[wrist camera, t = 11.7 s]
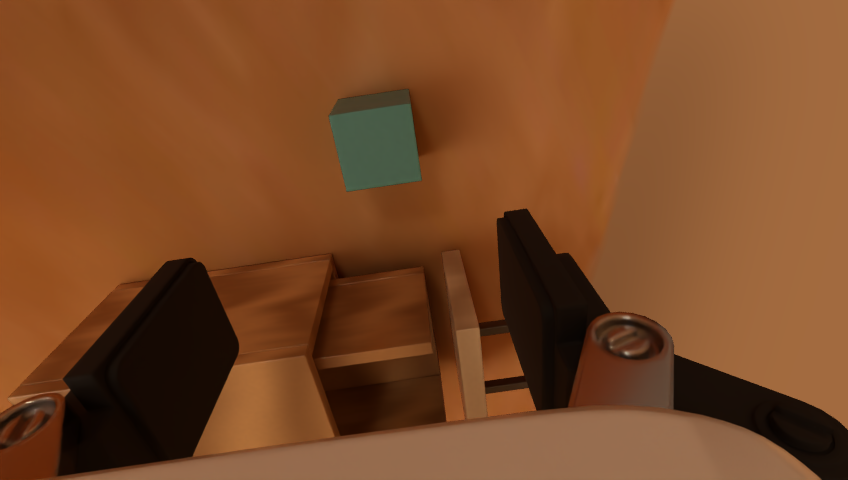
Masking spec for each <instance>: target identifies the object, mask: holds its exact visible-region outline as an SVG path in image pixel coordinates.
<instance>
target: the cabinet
mask: <svg viewBox="0 0 848 480" xmlns="http://www.w3.org/2000/svg"><path fill="white" fill-rule="evenodd" d="M207 273H208V275H209V277H210V279H211V281H212V284H213V286H214V288H215V290H216V292H217V294H218V297H219V299H220V301H221V303H222V305H223V308H224V310H225V312H226V314H227V316H228V319H229V321H230V323H231V325H232V327H233V330H234V332H235V334H236V336H237V338H238V341H239V353H238V356H237V358H236V360H235V363H234V365H233V367H232V369H231V371H230V374H229V376H228V378H227V380H226V383H225V385H224V387H223V389H222V392H221V394H220V396H219V398H218V400H217V403H216V405H215V407H214V409H213V412H212V414H211V416H210V418H209V421H208V423H207V425H206V427H205V429H204V432H203V434H202V436H201V438H200V441H199V443H198V445H197V447H196V450H195V452H194V454H193V456H192V457H195V456H202V455H210V454H217V453H224V452H231V451H238V450H245V449H252V448H259V447H266V446H274V445H281V444H288V443H295V442H302V441H310V440H317V439H324V438H331V437H339V436H340V434H339V431H338V428H337V425H336V422H335V419H334V417H333V414H332V411H331V408H330V405H329V403H328V400H327V397H326V394H325V391H324V388H323V386H322V383H321V380H320V377H319V374H318V372H317V369H316V366H315V363H314V360H313V357H312V354H313V350H314V346H315V341H316V337H317V333H318V329H319V325H320V320H321V316H322V312H323V308H324V303H325V299H326V295H327V291H328V287H329V282H330V280H333V279H338V275H337V272H336V268H335V265H334V261H333V258H332V254H326V255H319V256H312V257H305V258H298V259H291V260H284V261H278V262H271V263H264V264H257V265H250V266H243V267H237V268H230V269H223V270H216V271H209V272H207ZM149 281H150V280H147V281H141V282H134V283H127V284H120V285H118V286H117V287H116V288H115V289H114V290H113V291H112V292H111V293H110V294H109V295H108V296H107V297H106V298H105V299H104V300H103V301H102V302H101V303H100V304H99V305H98V306H97V307H96V308H95V309H94V310H93V311H92V312H91V313H90V314H89V315H88V316H87V317H86V318H85V319H84V320H83V321H82V322H81V324H80V325H79V326H78V327H77V328H76V329H75V330H74V331H73V332H72V333H71V334H70V335H69V336H68V337H67V338H66V339H65V340H64V341H63V342H62V343H61V344H60V345H59V346H58V347H57V348H56V349H55V350H54V351H53V352H52V353H51V354H50V355H49V356H48V357H47V358H46V359H45V360H44V361H43V362H42V363H41V364H40V365H39V366H38V367H37V368H36V369H35V370H34V371H33V372H32V373H31V374H30V375H29V376H28V377H27V378H26V379H25V380H24V381H23V382H22V383H21V384H20V386H19V387H18V388H17V389H16V390H15V391H14V392H13V393H12V394H11V395H10V396H9V397H8V400H9V401H10V402H11V403H12V404H13V405H15V404H17V403H19V402H21V401H23V400H25V399H28V398H31V397H33V396H36V395H39V394H45V393H50V392H51V393H59V394H61V395H62V396H64V397H65V396H66V395H67V394H68V392H69V391H70V388H69V387H68V386H67V385H66V383H65V382H64V381H63V378H64V376H65V375H66V374H67V373H68V372H69V371H70V370H71V368H72V367H73V366H74V365H75V364H76V363H77V362H78V361H79V359H80V358H81V357H82V356H83V355H84V354H85V353H86V352H87V350H88V349H89V348H90V347H91V346H92V345H93V344H94V343H95V341H96V340H97V339H98V338H99V337H100V336H101V335H102V334H103V332H104V331H105V330H106V329H107V328H108V327H109V326H110V325H111V323H112V322H113V321H114V320H115V319H116V318H117V317H118V316H119V314H120V313H121V312H122V311H123V310H124V309H125V308H126V307H127V305H128V304H129V303H130V302H131V301H132V300H133V299H134V298H135V296H136V295H137V294H138V293H139V292H140V291H141V290H142V289H143V287H144V286H145V285H146V284H147V283H148V282H149Z"/></svg>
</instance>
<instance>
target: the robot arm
mask: <svg viewBox="0 0 848 480" xmlns="http://www.w3.org/2000/svg"><path fill="white" fill-rule="evenodd" d="M497 236H498V253H499V271H500V288H501V304H502V310H503V315H504V318H505V321H506V324H507V326H508V329H509V332H510V335H511V338H512V341H513V344H514V347H515V350H516V352H517V355H518V358H519V361H520V364H521V367H522V370H523V373H524V375H525V378H526V381H527V384H528V387H529V390H530V393H531V396H532V399H533V401H534V404H535V407H536V410H537V411H529V412H520V413H513V414H506V415H498V416H490V417H482V418H473V419H465V420H458V421H450V422H443V423H435V424H428V425H421V426H413V427H406V428H398V429H391V430H383V431H376V432H368V433H361V434H353V435H346V436H339V437H331V438H324V439H317V440H310V441H302V442H295V443H288V444H281V445H274V446H266V447H259V448H252V449H245V450H238V451H231V452H224V453H217V454H210V455H202V456H195V457H192V456H193V454H194V452H195V450H196V447H197V445H198V443H199V441H200V438H201V436H202V434H203V432H204V429H205V427H206V425H207V423H208V421H209V418H210V416H211V414H212V412H213V409H214V407H215V405H216V403H217V400H218V398H219V396H220V394H221V392H222V389H223V387H224V385H225V383H226V380H227V378H228V376H229V374H230V371H231V369H232V367H233V365H234V363H235V360H236V358H237V356H238V353H239V341H238V338H237V336H236V334H235V332H234V330H233V327H232V325H231V323H230V321H229V319H228V316H227V314H226V312H225V310H224V308H223V305H222V303H221V301H220V299H219V297H218V294H217V292H216V290H215V288H214V286H213V284H212V281H211V279H210V277H209V275H208V273H207V270H206V268H205V266H204V265H203V264H202V263H201V262H197V261H196V260H195V259H193V258H186V259H179V260H172V261H167V262H166V263H165V264H164V265H163V266H162V267H161V268H160V269H159V270H158V272H157V273H156V274H155V275H154V276H153V277H152V278H151V279H150V281H149V282H148V283H147V284H146V285H145V286H144V287H143V289H142V290H141V291H140V292H139V293H138V294H137V295H136V296H135V298H134V299H133V300H132V301H131V302H130V303H129V304H128V305H127V307H126V308H125V309H124V310H123V311H122V312H121V313H120V314H119V316H118V317H117V318H116V319H115V320H114V321H113V322H112V323H111V325H110V326H109V327H108V328H107V329H106V330H105V331H104V332H103V334H102V335H101V336H100V337H99V338H98V339H97V340H96V341H95V343H94V344H93V345H92V346H91V347H90V348H89V349H88V350H87V352H86V353H85V354H84V355H83V356H82V357H81V358H80V359H79V361H78V362H77V363H76V364H75V365H74V366H73V367H72V368H71V370H70V371H69V372H68V373H67V374H66V375H65V376H64V378H63V381H64V382H65V383H66V385H67V386H68V387H69V388H70V391H69V392H68V394H67V395H66V396H65V397H64V396H62V395H61V394H59V393H51V392H50V393H45V394H39V395H36V396H33V397H31V398H28V399H25V400H23V401H21V402H19V403H17V404H15V405H13V406H11V407H10V408H8V409H7V410H5V411H4V412H2V413H0V480H848V430H847V429H846V428H845V427H844V426H843V425H842V424H841V423H840V422H839V421H838V420H836V419H835V418H833V417H832V416H830V415H828V414H827V413H825V412H824V411H822V410H821V409H818V408H816V407H814V406H812V405H809V404H807V403H805V402H803V401H800V400H797V399H795V398H792V397H789V396H787V395H784V394H781V393H778V392H776V391H773V390H770V389H767V388H765V387H762V386H759V385H757V384H754V383H751V382H748V381H746V380H743V379H740V378H737V377H735V376H732V375H729V374H726V373H724V372H721V371H718V370H716V369H713V368H710V367H708V366H705V365H702V364H699V363H697V362H694V361H691V360H688V359H686V358H682V357H680V356H678V355H675V354H674V344H673V340H672V337H671V336H670V334H669V333H668V332H667V330H666V329H665V328H664V327H662V326H661V325H660V324H658V323H657V322H655V321H654V320H651V319H649V318H647V317H645V316H641V315H637V314H634V313H626V312H613V313H611V312H610V311H609V310H608V308H607V307H606V305H605V304H604V302H603V301H602V299H601V298H600V297H599V295H598V294H597V292H596V291H595V289H594V288H593V286H592V285H591V284H590V282H589V281H588V279H587V278H586V276H585V275H584V274H583V272H582V271H581V269H580V268H579V266H578V265H577V263H576V262H575V261H574V259H573V258H572V256H571V255H570V254H569V253H562V254H556V253H555V252H554V250H553V248H552V247H551V245H550V244H549V242H548V241H547V239H546V237H545V236H544V234H543V233H542V231H541V230H540V228H539V227H538V225H537V223H536V222H535V220H534V219H533V217H532V216H531V214H530V212H529V211H528V210H527V209H520V210H514V211H507V212H504V218H497Z"/></svg>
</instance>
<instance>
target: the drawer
mask: <svg viewBox="0 0 848 480" xmlns="http://www.w3.org/2000/svg"><path fill="white" fill-rule="evenodd" d="M441 254H442V261H443V269H444V276H445V284H446V291H447V299H448V306H449V314H450V321H451V329H452V336H453V344H454V351H455V359H456V366H457V373H458V380H459V386H460V392H461V398H462V404H463V410H464V416H465V419H473V418H482V417H488V415H487V404H486V394H489V393H496V392H503V391H510V390H517V389H524V388H529V387H528V384H527V381H526V378H525V376H518V377H511V378H504V379H497V380H490V381H484V371H483V360H482V349H481V339H480V337H481V336H488V335H495V334H502V333H509V329H508V326H507V324H506V321H505V320H498V321H491V322H484V323H478V320H477V316H476V312H475V308H474V304H473V301H472V297H471V293H470V289H469V285H468V281H467V277H466V274H465V270H464V266H463V262H462V258H461V254H460V250H453V251H446V252H442V253H441ZM312 357H313V360H314V363H315V366H316V369H317V372H318V374H319V377H320V380H321V383H322V386H323V388H324V391H325V394H326V397H327V400H328V403H329V405H330V408H331V411H332V414H333V417H334V419H335V422H336V425H337V428H338V431H339V434H340V436H346V435H353V434H361V433H368V432H376V431H383V430H391V429H398V428H406V427H413V426H421V425H428V424H435V423H443V422H446V414H445V406H444V397H443V389H442V381H441V373H440V367H439V361H438V354H437V348H436V342H435V336H434V329H433V323H432V317H431V311H430V305H429V298H428V292H427V286H426V280H425V273H424V267H416V268H409V269H402V270H395V271H388V272H382V273H375V274H368V275H361V276H354V277H347V278H340V279H333V280H330V282H329V287H328V291H327V295H326V299H325V303H324V308H323V312H322V316H321V320H320V325H319V329H318V333H317V337H316V341H315V346H314V350H313V354H312Z"/></svg>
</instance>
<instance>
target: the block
mask: <svg viewBox="0 0 848 480" xmlns="http://www.w3.org/2000/svg"><path fill="white" fill-rule="evenodd" d="M329 120H330V124H331V128H332V132H333V137H334V141H335V145H336V149H337V153H338V157H339V162H340V166H341V170H342V174H343V178H344V182H345V187H346V191H347V192H348V191H355V190H362V189H369V188H375V187H382V186H389V185H396V184H403V183H409V182H416V181H422V177H421V170H420V163H419V157H418V150H417V143H416V136H415V129H414V122H413V115H412V108H411V102H410V95H409V89H404V90H397V91H390V92H384V93H377V94H370V95H364V96H357V97H351V98H344V99H338V101H337V103H336V104H335V106H334V108H333V109H332V111H331V113H330V114H329Z"/></svg>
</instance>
